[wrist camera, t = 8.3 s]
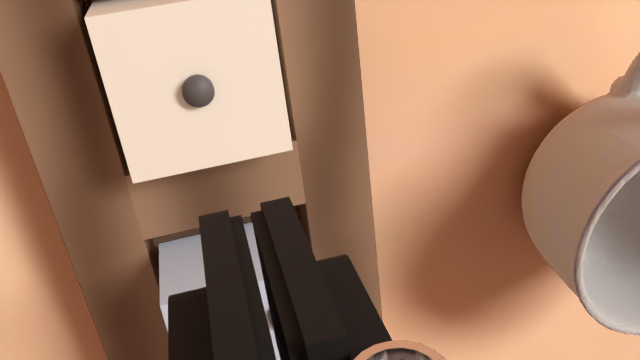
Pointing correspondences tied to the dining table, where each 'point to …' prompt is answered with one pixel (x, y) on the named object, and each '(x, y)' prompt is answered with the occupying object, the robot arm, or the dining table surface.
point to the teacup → (592, 203)
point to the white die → (199, 271)
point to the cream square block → (190, 82)
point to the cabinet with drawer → (191, 187)
